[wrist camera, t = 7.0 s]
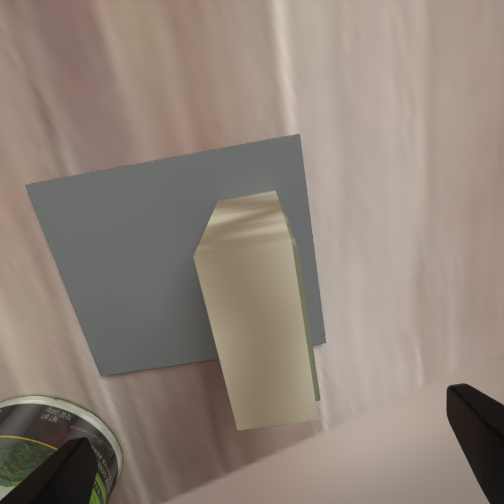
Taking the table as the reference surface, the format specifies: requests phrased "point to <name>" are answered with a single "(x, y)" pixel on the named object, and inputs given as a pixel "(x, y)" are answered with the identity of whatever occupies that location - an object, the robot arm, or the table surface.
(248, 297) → the beech board
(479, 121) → the table surface
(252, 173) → the slate mat
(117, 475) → the coffee can
